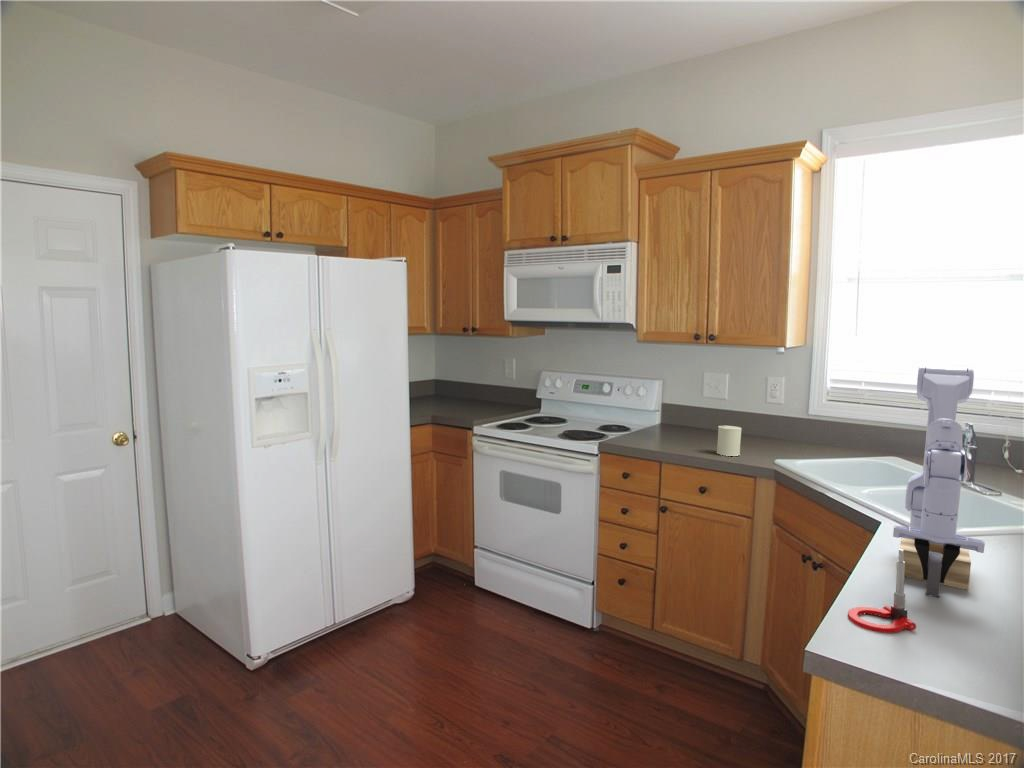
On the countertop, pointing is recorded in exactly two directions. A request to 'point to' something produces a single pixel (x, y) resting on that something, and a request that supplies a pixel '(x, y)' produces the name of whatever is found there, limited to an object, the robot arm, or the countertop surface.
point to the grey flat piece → (934, 574)
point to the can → (729, 440)
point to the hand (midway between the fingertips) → (933, 579)
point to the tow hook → (894, 612)
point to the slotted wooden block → (960, 566)
